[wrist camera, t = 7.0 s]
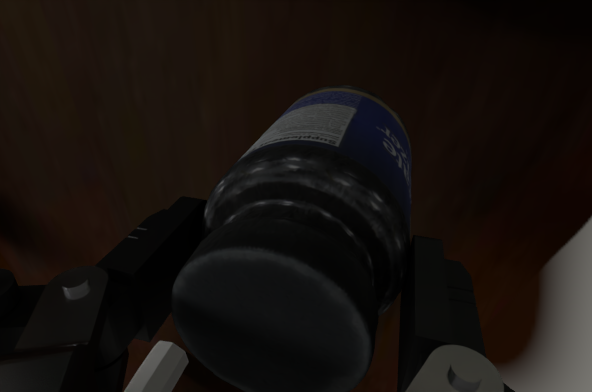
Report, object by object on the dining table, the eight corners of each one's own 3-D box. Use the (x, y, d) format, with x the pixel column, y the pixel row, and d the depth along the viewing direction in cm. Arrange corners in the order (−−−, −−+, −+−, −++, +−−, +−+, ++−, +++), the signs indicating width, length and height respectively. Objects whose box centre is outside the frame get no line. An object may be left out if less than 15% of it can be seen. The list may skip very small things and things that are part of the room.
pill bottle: (417, 202, 18) (424, 440, 9) (294, 212, 20) (194, 415, 11) (402, 67, 16) (389, 205, 6) (262, 94, 18) (94, 228, 8)
